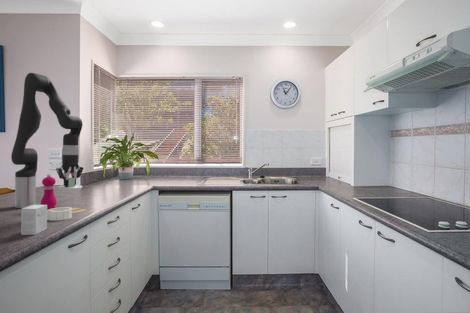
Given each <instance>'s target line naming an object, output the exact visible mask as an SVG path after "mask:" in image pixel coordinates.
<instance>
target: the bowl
mask: <svg viewBox="0 0 470 313" xmlns="http://www.w3.org/2000/svg"><path fill="white" fill-rule="evenodd" d="M72 208H73V207H71V206H70V207H69V206H68V207H67V206H61V207H59V206H58V207H56V208H52V209H49V210H47V221H55V222H56V221H63V220H64V221H65V220H70V219H71V218H73V213H72Z"/></svg>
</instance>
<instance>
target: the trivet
mask: <svg viewBox="0 0 470 313" xmlns="http://www.w3.org/2000/svg"><path fill="white" fill-rule="evenodd" d="M71 208H72V214H75V213H79V212H80V213H81V212H86V211H87V209H85V208H78V207H74V206H73V207H71Z"/></svg>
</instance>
